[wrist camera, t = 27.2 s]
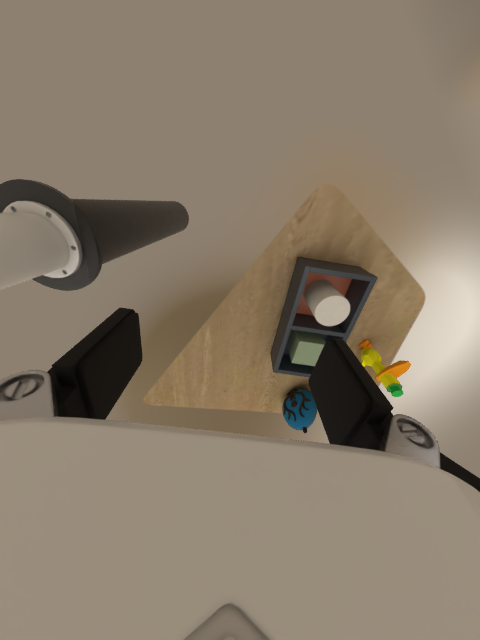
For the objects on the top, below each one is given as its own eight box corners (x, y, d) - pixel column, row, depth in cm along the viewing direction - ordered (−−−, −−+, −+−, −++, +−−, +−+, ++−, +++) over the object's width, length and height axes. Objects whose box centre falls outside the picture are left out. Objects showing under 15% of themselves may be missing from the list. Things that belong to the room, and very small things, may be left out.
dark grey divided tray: (270, 353, 44) (273, 372, 39) (297, 256, 34) (305, 265, 29) (319, 360, 44) (327, 379, 40) (360, 266, 34) (378, 277, 29)
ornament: (304, 378, 47) (316, 418, 38) (315, 389, 49) (330, 429, 40) (275, 394, 50) (280, 434, 41) (286, 404, 52) (294, 445, 43)
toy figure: (375, 328, 40) (420, 373, 30) (385, 339, 41) (432, 385, 31) (345, 349, 43) (377, 396, 32) (356, 358, 44) (389, 407, 33)
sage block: (287, 346, 42) (291, 363, 38) (293, 325, 40) (299, 341, 35) (311, 350, 42) (318, 366, 38) (319, 329, 40) (327, 345, 36)
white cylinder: (300, 304, 37) (310, 323, 31) (308, 277, 35) (321, 293, 29) (327, 308, 37) (342, 328, 31) (337, 281, 35) (356, 298, 29)
